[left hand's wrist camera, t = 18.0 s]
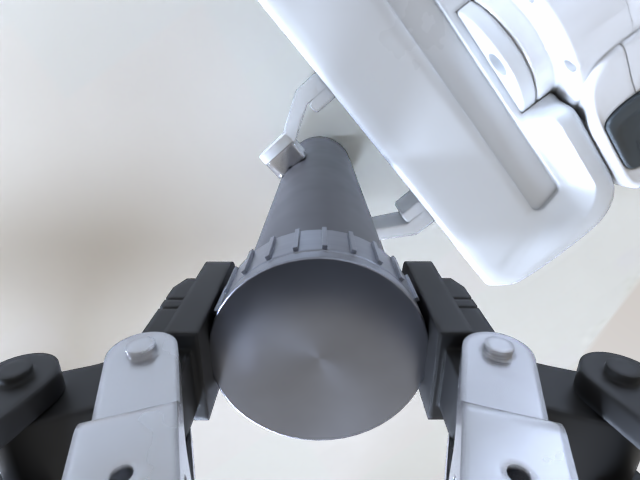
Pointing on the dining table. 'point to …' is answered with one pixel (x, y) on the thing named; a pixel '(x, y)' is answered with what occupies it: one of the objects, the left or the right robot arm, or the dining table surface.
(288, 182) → the grey cylinder
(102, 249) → the dining table surface
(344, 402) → the lid
